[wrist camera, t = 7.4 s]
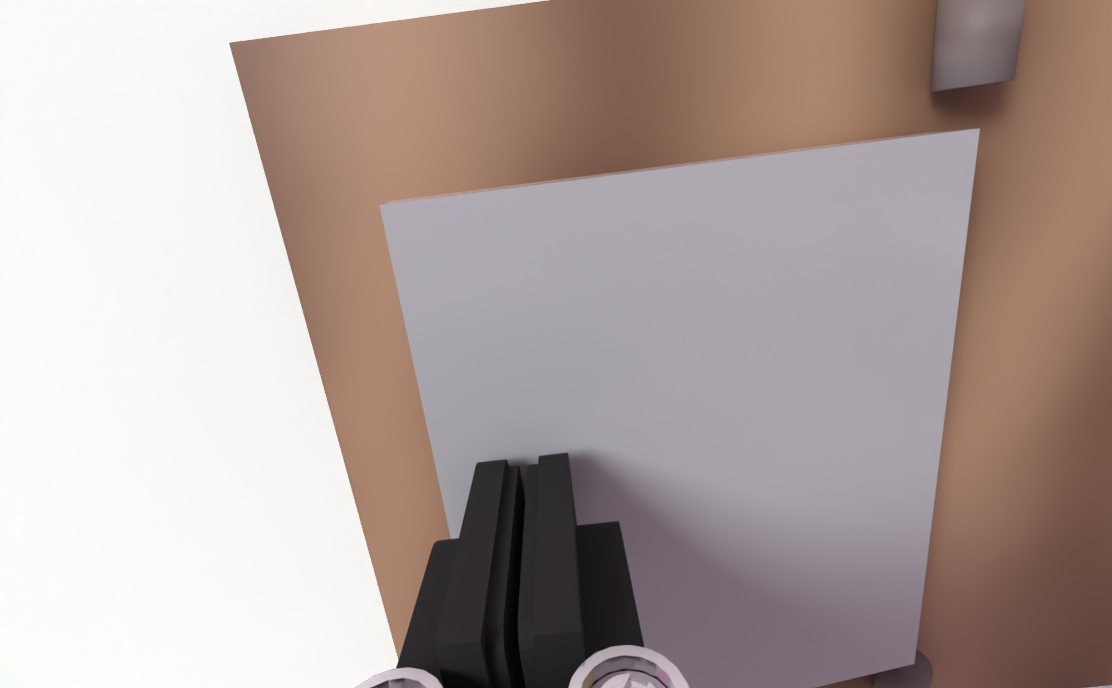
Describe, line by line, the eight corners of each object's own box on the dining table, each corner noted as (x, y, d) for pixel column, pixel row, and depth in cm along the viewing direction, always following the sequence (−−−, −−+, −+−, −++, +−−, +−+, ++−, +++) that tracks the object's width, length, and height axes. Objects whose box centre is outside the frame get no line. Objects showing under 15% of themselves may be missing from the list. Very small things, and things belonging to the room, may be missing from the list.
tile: (379, 205, 8) (391, 201, 9) (498, 762, 12) (496, 711, 13) (979, 128, 9) (924, 132, 10) (914, 664, 13) (879, 624, 14)
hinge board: (1528, -114, 10) (1785, -186, 8) (1249, 637, 16) (1355, 710, 14) (257, 52, 11) (187, 27, 9) (430, 714, 16) (412, 794, 14)
